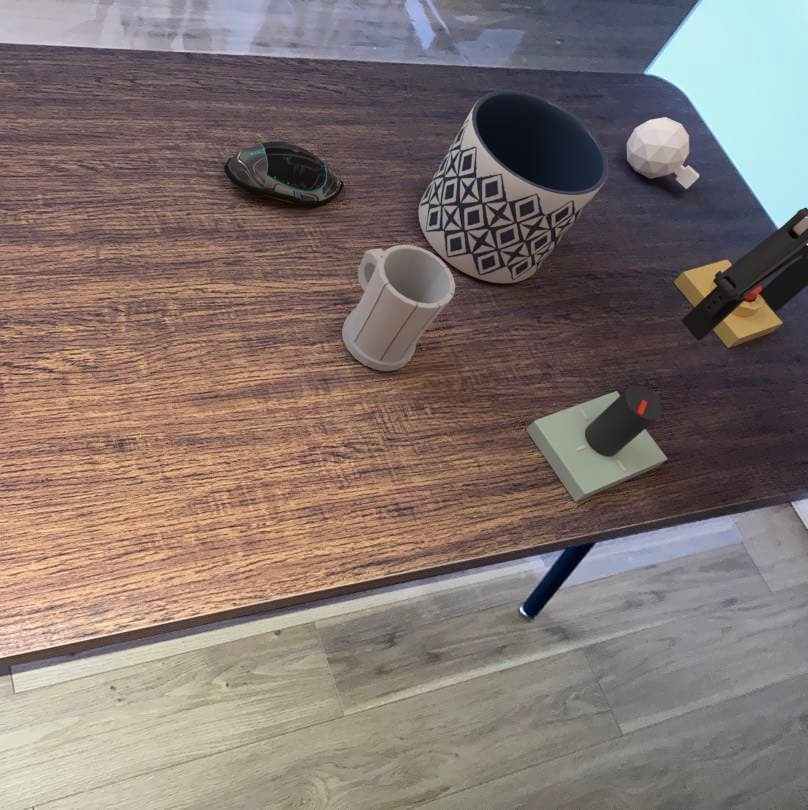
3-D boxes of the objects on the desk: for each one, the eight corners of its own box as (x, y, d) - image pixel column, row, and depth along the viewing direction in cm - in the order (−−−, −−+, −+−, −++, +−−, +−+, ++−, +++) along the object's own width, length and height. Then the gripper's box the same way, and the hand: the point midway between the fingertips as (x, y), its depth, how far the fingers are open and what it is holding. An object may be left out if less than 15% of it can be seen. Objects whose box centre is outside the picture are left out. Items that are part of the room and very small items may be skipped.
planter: (389, 208, 120) (442, 108, 107) (475, 171, 129) (533, 76, 116) (482, 305, 114) (549, 213, 101) (565, 259, 124) (636, 170, 111)
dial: (591, 416, 106) (633, 376, 100) (623, 438, 106) (667, 399, 99) (580, 441, 104) (622, 402, 97) (613, 463, 103) (658, 425, 96)
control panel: (607, 399, 111) (617, 389, 110) (657, 467, 108) (668, 458, 106) (525, 429, 105) (534, 419, 103) (575, 502, 101) (586, 493, 99)
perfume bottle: (608, 156, 138) (668, 209, 137) (655, 107, 132) (718, 163, 131) (616, 146, 145) (672, 197, 144) (661, 100, 139) (720, 152, 138)
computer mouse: (351, 212, 117) (367, 179, 113) (226, 208, 111) (238, 173, 107) (333, 164, 122) (348, 131, 117) (213, 158, 116) (223, 123, 111)
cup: (316, 342, 104) (353, 273, 94) (343, 292, 109) (380, 223, 99) (398, 386, 103) (442, 321, 94) (421, 334, 109) (465, 268, 99)
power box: (771, 332, 128) (792, 315, 125) (728, 348, 123) (748, 330, 120) (717, 269, 133) (735, 250, 129) (673, 282, 128) (691, 263, 125)
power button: (758, 299, 125) (767, 291, 124) (740, 304, 123) (749, 296, 122) (739, 277, 127) (748, 269, 125) (721, 282, 125) (730, 274, 124)
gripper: (933, 120, 87) (775, 266, 104) (784, 156, 75) (633, 314, 92) (993, 175, 84) (820, 316, 101) (848, 221, 73) (680, 372, 90)
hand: (730, 315), depth 97 cm, fingers open, 13 cm apart
